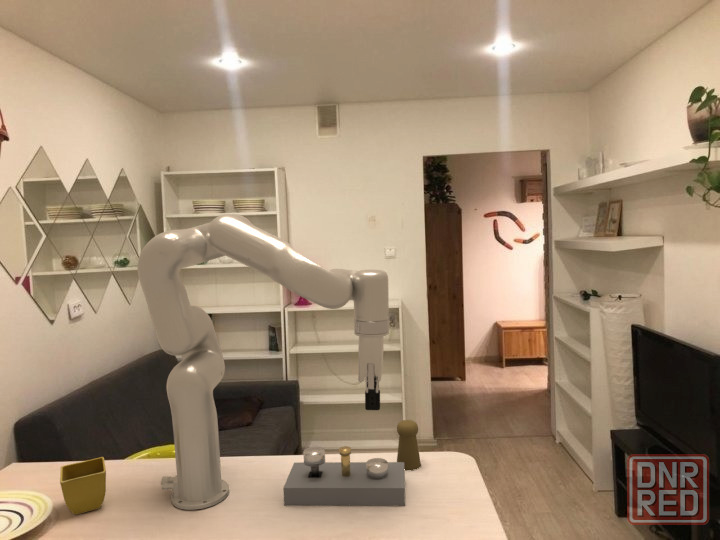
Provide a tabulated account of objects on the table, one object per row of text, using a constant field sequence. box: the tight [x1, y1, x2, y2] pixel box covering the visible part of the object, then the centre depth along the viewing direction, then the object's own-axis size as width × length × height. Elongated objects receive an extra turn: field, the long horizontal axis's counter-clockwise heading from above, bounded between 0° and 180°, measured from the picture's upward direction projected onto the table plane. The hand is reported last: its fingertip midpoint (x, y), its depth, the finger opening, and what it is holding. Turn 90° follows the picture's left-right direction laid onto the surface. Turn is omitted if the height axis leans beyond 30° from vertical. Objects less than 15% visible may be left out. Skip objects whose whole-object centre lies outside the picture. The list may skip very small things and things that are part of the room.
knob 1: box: [303, 446, 326, 478], centre depth 123 cm, size 5×5×6 cm
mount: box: [283, 461, 406, 507], centre depth 123 cm, size 26×12×4 cm, turn 86°
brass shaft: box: [338, 445, 352, 477], centre depth 122 cm, size 3×3×6 cm
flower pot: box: [59, 456, 107, 516], centre depth 120 cm, size 9×9×9 cm
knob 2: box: [366, 457, 389, 479], centre depth 122 cm, size 5×5×6 cm
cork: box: [396, 419, 422, 471], centre depth 134 cm, size 6×6×11 cm
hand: (372, 408), depth 120 cm, fingers closed
